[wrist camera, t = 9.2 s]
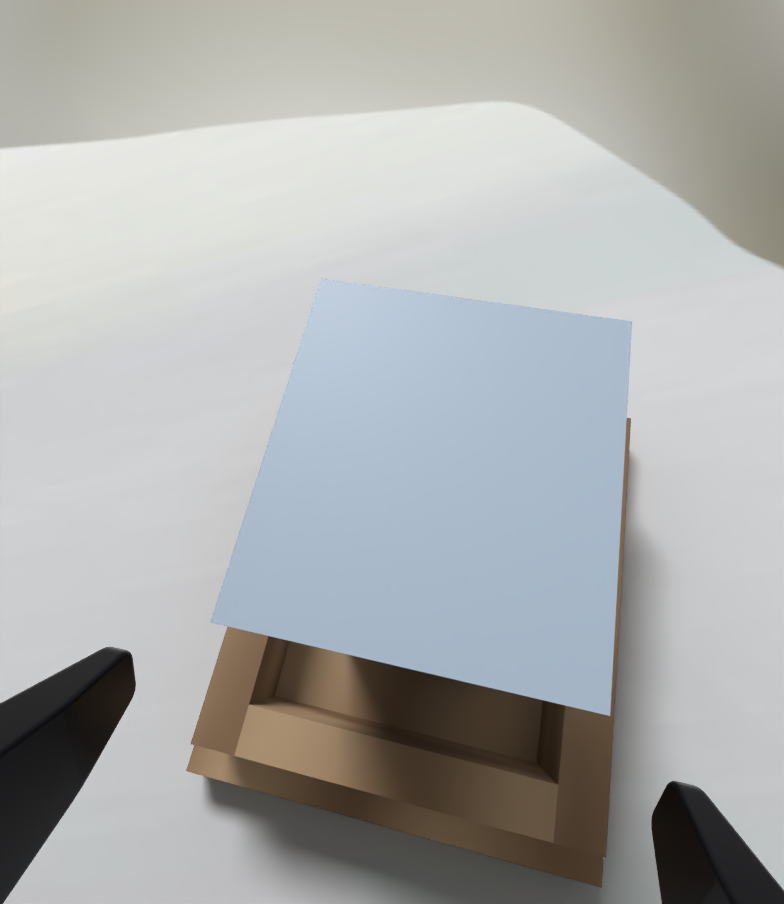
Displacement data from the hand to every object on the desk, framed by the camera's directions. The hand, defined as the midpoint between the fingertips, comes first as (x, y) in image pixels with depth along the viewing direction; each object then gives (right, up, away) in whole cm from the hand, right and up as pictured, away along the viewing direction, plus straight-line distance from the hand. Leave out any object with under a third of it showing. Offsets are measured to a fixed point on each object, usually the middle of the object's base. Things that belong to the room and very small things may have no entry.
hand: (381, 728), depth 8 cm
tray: (+1, 0, +9) cm, 10 cm away
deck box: (+1, +1, +8) cm, 8 cm away
